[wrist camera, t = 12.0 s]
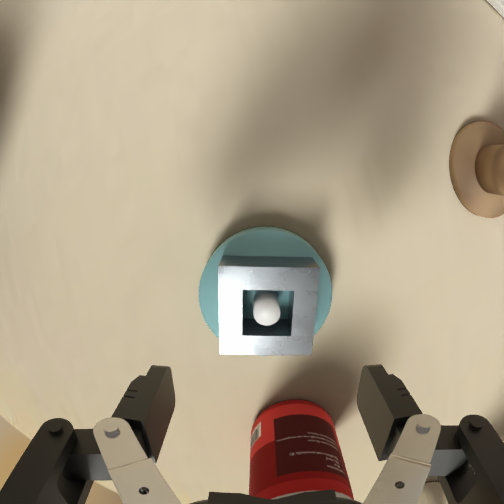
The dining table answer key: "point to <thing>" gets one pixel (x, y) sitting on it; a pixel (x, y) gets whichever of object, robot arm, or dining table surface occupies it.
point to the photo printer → (498, 6)
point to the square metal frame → (267, 278)
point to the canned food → (296, 452)
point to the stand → (479, 168)
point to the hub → (262, 301)
